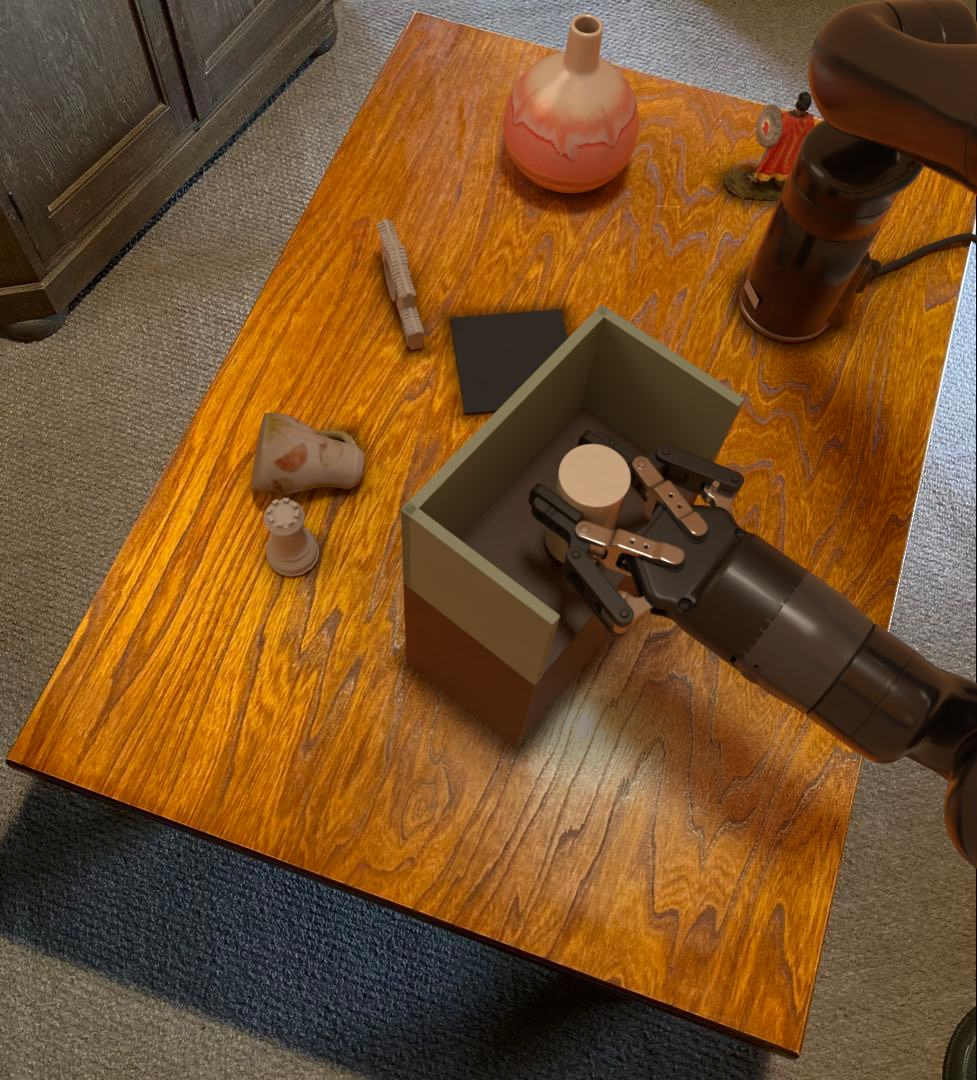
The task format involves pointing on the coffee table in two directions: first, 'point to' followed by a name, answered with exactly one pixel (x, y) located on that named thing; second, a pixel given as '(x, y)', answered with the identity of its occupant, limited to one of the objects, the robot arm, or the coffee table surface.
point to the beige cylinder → (590, 489)
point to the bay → (518, 538)
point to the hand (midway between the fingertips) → (557, 466)
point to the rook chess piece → (289, 539)
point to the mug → (303, 457)
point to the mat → (502, 353)
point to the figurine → (773, 151)
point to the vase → (572, 115)
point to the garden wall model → (400, 283)
